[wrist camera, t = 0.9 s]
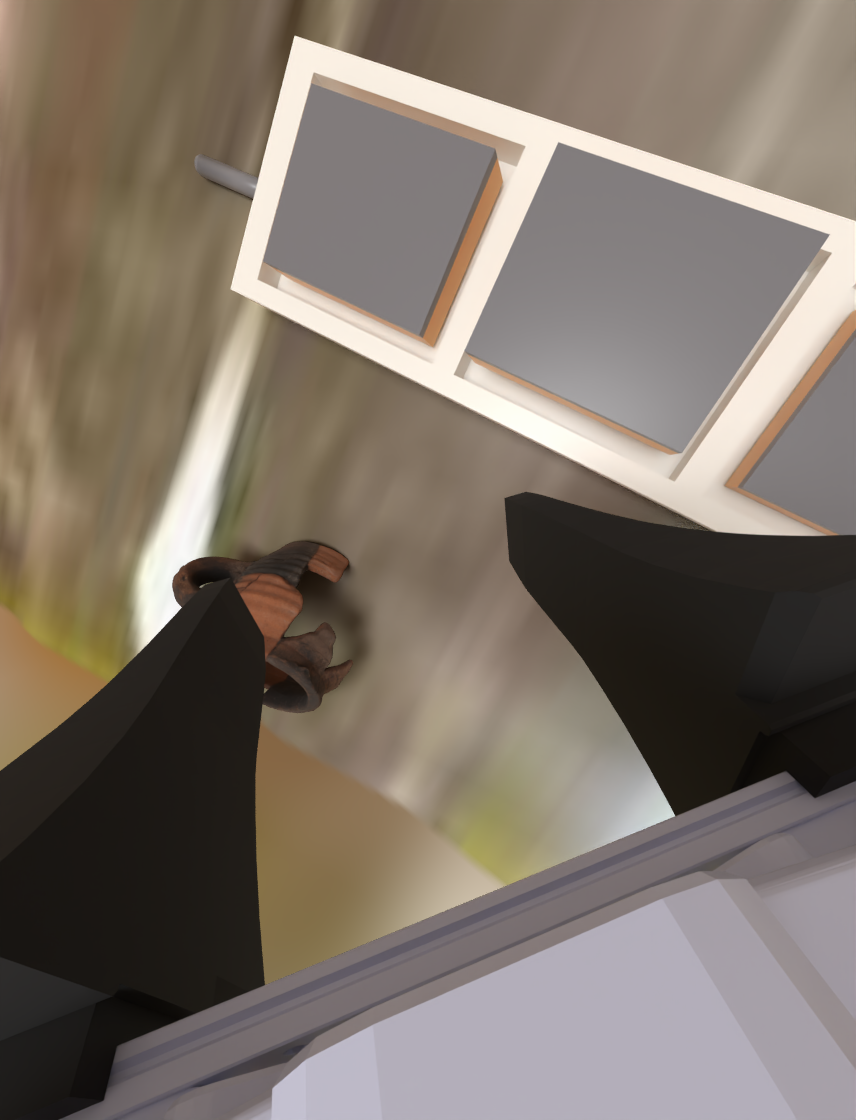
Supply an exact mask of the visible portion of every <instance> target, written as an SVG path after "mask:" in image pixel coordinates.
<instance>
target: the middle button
mask: <svg viewBox="0 0 856 1120" xmlns="http://www.w3.org/2000/svg"><path fill="white" fill-rule="evenodd" d="M829 235H830V234H827V233H824V232H821V231H818V230H815V229H812V228H809V227H806V226H803V225H800V224H797V223H794V222H791V221H788V220H786V219H783V218H780V217H777V216H774V215H771V214H768V213H765V212H762V211H759V210H756V209H753V208H750V207H747V206H744V205H741V204H739V203H736V202H733V201H730V200H727V199H724V198H721V197H718V196H715V195H712V194H709V193H706V192H703V191H700V190H697V189H695V188H692V187H689V186H686V185H683V184H680V183H677V182H674V181H671V180H668V179H665V178H662V177H659V176H656V175H653V174H650V173H648V172H645V171H642V170H639V169H636V168H633V167H630V166H627V165H624V164H621V163H618V162H615V161H612V160H609V159H606V158H603V157H601V156H598V155H595V154H592V153H589V152H586V151H583V150H580V149H577V148H574V147H571V146H568V145H565V144H562V143H559V142H558V144H557V146H556V148H555V151H554V153H553V155H552V157H551V160H550V162H549V164H548V166H547V168H546V171H545V173H544V175H543V177H542V179H541V182H540V184H539V186H538V188H537V191H536V193H535V195H534V197H533V199H532V202H531V204H530V206H529V208H528V211H527V213H526V215H525V217H524V219H523V222H522V224H521V226H520V228H519V231H518V233H517V235H516V237H515V239H514V242H513V244H512V246H511V248H510V250H509V253H508V255H507V257H506V259H505V262H504V264H503V266H502V268H501V270H500V273H499V275H498V277H497V279H496V282H495V284H494V286H493V288H492V290H491V293H490V295H489V297H488V299H487V302H486V304H485V306H484V308H483V310H482V313H481V315H480V317H479V319H478V322H477V324H476V326H475V328H474V330H473V333H472V335H471V337H470V339H469V341H468V344H467V346H466V348H465V350H464V351H465V352H466V353H467V354H468V355H469V357H470V358H471V359H472V360H473V361H474V362H475V363H476V364H478V365H480V366H483V367H485V368H487V369H489V370H491V371H493V372H495V373H497V374H499V375H502V376H504V377H506V378H508V379H510V380H512V381H514V382H516V383H518V384H521V385H523V386H525V387H527V388H529V389H531V390H533V391H535V392H537V393H540V394H542V395H544V396H546V397H548V398H550V399H552V400H554V401H557V402H559V403H561V404H563V405H565V406H567V407H569V408H571V409H573V410H576V411H578V412H580V413H582V414H584V415H586V416H588V417H590V418H592V419H595V420H597V421H599V422H601V423H603V424H605V425H607V426H609V427H611V428H614V429H616V430H618V431H620V432H622V433H624V434H626V435H628V436H631V437H633V438H635V439H637V440H639V441H641V442H643V443H645V444H647V445H650V446H652V447H654V448H656V449H658V450H660V451H662V452H664V453H666V454H669V455H673V454H679V453H682V452H683V451H684V449H685V448H686V446H687V445H688V443H689V442H690V441H691V439H692V438H693V436H694V435H695V433H696V432H697V430H698V429H699V427H700V426H701V424H702V423H703V421H704V420H705V418H706V417H707V415H708V414H709V412H710V411H711V410H712V408H713V407H714V405H715V404H716V402H717V401H718V399H719V398H720V396H721V395H722V393H723V392H724V390H725V389H726V387H727V386H728V384H729V383H730V382H731V380H732V379H733V377H734V376H735V374H736V373H737V371H738V370H739V368H740V367H741V365H742V364H743V362H744V361H745V359H746V358H747V356H748V355H749V353H750V352H751V351H752V349H753V348H754V346H755V345H756V343H757V342H758V340H759V339H760V337H761V336H762V334H763V333H764V331H765V330H766V328H767V327H768V325H769V324H770V322H771V321H772V320H773V318H774V317H775V315H776V314H777V312H778V311H779V309H780V308H781V306H782V305H783V303H784V302H785V300H786V299H787V297H788V296H789V294H790V293H791V292H792V290H793V289H794V287H795V286H796V284H797V283H798V281H799V280H800V278H801V277H802V275H803V274H804V272H805V271H806V269H807V268H808V266H809V265H810V263H811V262H812V261H813V259H814V258H815V256H816V255H817V253H818V252H819V250H820V249H821V247H822V246H823V244H824V243H825V241H826V240H827V238H828V237H829Z"/></svg>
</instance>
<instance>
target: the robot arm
mask: <svg viewBox="0 0 856 1120" xmlns="http://www.w3.org/2000/svg"><path fill="white" fill-rule="evenodd" d="M505 510H506V523H507V536H508V549H509V561H510V563H511V564H512V566H513V568H514V570H515V571H516V573H517V575H518V577H519V578H520V580H521V581H522V583H523V585H524V586H525V588H526V589H527V591H528V592H529V593H530V594H531V596H532V597H533V598H534V599H535V601H536V602H537V603H538V604H539V605H540V607H541V608H542V609H543V610H544V612H545V613H546V614H547V615H548V616H549V618H550V619H551V620H552V621H553V623H554V624H555V625H556V626H557V627H558V629H559V630H560V631H561V632H562V633H563V635H564V636H565V637H566V638H567V639H568V641H569V642H570V643H571V644H572V646H573V647H574V648H575V649H576V651H577V652H578V653H579V655H580V656H581V657H582V659H583V660H584V662H585V663H586V665H587V666H588V668H589V669H590V671H591V672H592V674H593V675H594V677H595V679H596V680H597V682H598V683H599V685H600V686H601V688H602V689H603V691H604V692H605V694H606V696H607V697H608V699H609V701H610V702H611V704H612V705H613V707H614V709H615V710H616V712H617V713H618V715H619V717H620V718H621V720H622V722H623V723H624V725H625V726H626V728H627V730H628V732H629V733H630V735H631V737H632V739H633V740H634V742H635V744H636V745H637V747H638V749H639V751H640V752H641V754H642V756H643V757H644V759H645V761H646V763H647V764H648V766H649V768H650V770H651V772H652V773H653V775H654V777H655V779H656V781H657V783H658V784H659V786H660V788H661V790H662V792H663V794H664V795H665V797H666V799H667V801H668V803H669V805H670V806H671V808H672V810H673V812H674V814H675V817H673V818H670V819H668V820H665V821H663V822H660V823H658V824H656V825H653V826H651V827H648V828H646V829H643V830H641V831H639V832H636V833H634V834H631V835H629V836H626V837H624V838H622V839H619V840H617V841H614V842H612V843H609V844H607V845H604V846H602V847H600V848H597V849H595V850H592V851H590V852H587V853H585V854H583V855H580V856H578V857H575V858H573V859H570V860H568V861H566V862H563V863H561V864H558V865H556V866H553V867H551V868H549V869H546V870H544V871H541V872H539V873H536V874H534V875H532V876H529V877H527V878H524V879H522V880H519V881H517V882H515V883H512V884H510V885H507V886H505V887H502V888H500V889H497V890H495V891H493V892H490V893H488V894H485V895H483V896H480V897H478V898H476V899H473V900H471V901H469V902H466V903H463V904H461V905H459V906H456V907H454V908H451V909H449V910H446V911H445V912H442V913H439V914H437V915H434V916H432V917H429V918H427V919H425V920H422V921H420V922H417V923H415V924H413V925H410V926H408V927H405V928H403V929H401V930H398V931H395V932H393V933H391V934H388V935H386V936H383V937H381V938H378V939H376V940H373V941H371V942H369V943H366V944H364V945H361V946H359V947H357V948H354V949H352V950H350V951H347V952H344V953H342V954H339V955H337V956H335V957H332V958H330V959H327V960H325V961H323V962H320V963H318V964H315V965H313V966H311V967H308V968H305V969H303V970H301V971H298V972H296V973H293V974H291V975H288V976H286V977H284V978H281V979H279V980H276V981H274V982H271V983H269V984H267V985H265V981H264V970H263V957H262V946H261V932H260V920H259V904H258V903H259V900H258V881H257V862H256V824H255V823H256V822H255V772H256V757H257V747H258V738H259V729H260V721H261V712H262V703H263V694H264V684H265V674H266V663H265V642H264V636H263V634H262V632H261V630H260V629H259V627H258V625H257V623H256V622H255V620H254V618H253V616H252V614H251V613H250V611H249V609H248V607H247V606H246V604H245V602H244V600H243V599H242V597H241V595H240V593H239V591H238V590H237V588H236V586H235V584H234V583H233V581H232V579H231V578H227V579H224V580H220V581H217V582H213V583H210V584H207V585H205V586H203V587H202V588H201V589H200V590H199V591H198V592H197V593H196V594H195V595H194V596H193V597H192V598H191V599H190V600H189V601H188V602H187V603H186V604H185V605H184V606H183V607H182V608H181V609H180V610H179V611H178V613H177V614H176V615H175V616H174V617H173V618H172V619H171V620H170V621H169V622H168V623H167V624H166V625H165V627H164V628H163V629H162V630H161V631H160V632H159V633H158V634H157V635H156V636H155V637H154V638H153V639H152V640H151V641H150V643H149V644H148V645H147V646H146V647H145V648H144V649H143V650H142V651H141V652H140V653H139V654H138V655H137V656H136V657H134V658H133V659H132V660H131V661H130V662H129V663H128V664H127V665H126V666H125V667H124V668H123V669H122V670H121V671H120V672H119V673H118V674H117V675H116V676H115V677H114V678H113V679H112V680H111V681H110V682H109V683H108V684H107V685H106V686H105V687H104V688H103V689H101V690H100V691H99V692H98V693H97V694H96V695H95V696H94V697H93V698H92V699H90V700H89V701H88V702H87V703H86V704H84V705H83V706H82V707H81V708H80V709H79V710H77V711H76V712H75V713H74V714H73V715H71V717H69V718H68V719H67V720H66V721H64V722H63V723H62V724H61V725H59V726H58V727H57V728H56V729H54V730H53V731H52V732H51V733H49V734H48V735H47V736H45V737H44V738H43V739H41V740H40V741H39V742H37V743H36V744H35V745H34V746H32V747H31V748H30V749H28V750H27V751H26V752H24V753H23V754H22V755H20V756H19V757H18V758H17V759H15V760H14V761H13V762H11V763H10V764H9V765H7V766H6V767H5V768H4V769H2V770H1V771H0V1120H856V535H827V536H790V535H757V534H738V533H726V532H714V531H703V530H694V529H686V528H679V527H672V526H666V525H660V524H653V523H648V522H642V521H637V520H633V519H628V518H624V517H620V516H615V515H611V514H607V513H603V512H599V511H596V510H592V509H588V508H585V507H581V506H578V505H574V504H571V503H567V502H564V501H560V500H557V499H554V498H550V497H546V496H543V495H539V494H534V493H529V492H524V493H521V494H517V495H514V496H510V497H507V498H505Z"/></svg>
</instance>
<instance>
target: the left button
mask: <svg viewBox="0 0 856 1120" xmlns="http://www.w3.org/2000/svg"><path fill="white" fill-rule="evenodd" d="M502 183H503V179H502V175H501V171H500V166H499V162H498V158H497V153H496V149H495V148H492V147H489V146H487V145H484V144H481V143H478V142H475V141H472V140H470V139H467V138H464V137H461V136H458V135H456V134H453V133H450V132H447V131H444V130H442V129H439V128H436V127H433V126H430V125H427V124H425V123H422V122H419V121H416V120H413V119H411V118H408V117H405V116H402V115H399V114H396V113H394V112H391V111H388V110H385V109H382V108H380V107H377V106H374V105H371V104H368V103H366V102H363V101H360V100H357V99H354V98H351V97H349V96H346V95H343V94H340V93H337V92H335V91H332V90H329V89H326V88H323V87H320V86H318V85H315V84H312V83H311V86H310V90H309V94H308V97H307V101H306V105H305V108H304V112H303V116H302V119H301V123H300V127H299V130H298V134H297V138H296V141H295V145H294V149H293V152H292V156H291V160H290V164H289V167H288V171H287V175H286V178H285V182H284V186H283V189H282V193H281V197H280V200H279V204H278V208H277V211H276V215H275V219H274V222H273V226H272V230H271V233H270V237H269V241H268V244H267V248H266V252H265V255H264V259H263V262H265V263H266V264H268V265H269V266H271V267H272V268H274V269H275V270H277V271H278V272H279V273H281V274H282V275H284V276H285V277H287V278H288V279H290V280H292V281H294V282H296V283H298V284H301V285H303V286H305V287H307V288H309V289H311V290H313V291H315V292H317V293H319V294H322V295H324V296H326V297H328V298H330V299H332V300H334V301H336V302H338V303H341V304H343V305H345V306H347V307H349V308H351V309H353V310H355V311H357V312H359V313H362V314H364V315H366V316H368V317H370V318H372V319H374V320H376V321H378V322H380V323H383V324H385V325H387V326H389V327H391V328H393V329H395V330H397V331H399V332H402V333H404V334H406V335H408V336H410V337H412V338H414V339H416V340H418V341H420V342H423V343H425V344H427V345H429V346H431V347H433V346H434V344H435V341H436V339H437V336H438V334H439V332H440V329H441V327H442V325H443V322H444V320H445V318H446V315H447V313H448V311H449V308H450V306H451V303H452V301H453V299H454V296H455V294H456V292H457V289H458V287H459V285H460V282H461V280H462V278H463V275H464V273H465V271H466V268H467V266H468V263H469V261H470V259H471V256H472V254H473V252H474V249H475V247H476V245H477V242H478V240H479V238H480V235H481V233H482V230H483V228H484V226H485V223H486V221H487V219H488V216H489V214H490V212H491V209H492V207H493V205H494V202H495V200H496V197H497V195H498V193H499V190H500V188H501V186H502Z"/></svg>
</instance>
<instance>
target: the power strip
mask: <svg viewBox="0 0 856 1120" xmlns="http://www.w3.org/2000/svg"><path fill="white" fill-rule="evenodd" d="M311 83H312V84H315V85H318V86H320V87H323V88H326V89H329V90H332V91H335V92H337V93H340V94H343V95H346V96H349V97H351V98H354V99H357V100H360V101H363V102H366V103H368V104H371V105H374V106H377V107H380V108H382V109H385V110H388V111H391V112H394V113H396V114H399V115H402V116H405V117H408V118H411V119H413V120H416V121H419V122H422V123H425V124H427V125H430V126H433V127H436V128H439V129H442V130H444V131H447V132H450V133H453V134H456V135H458V136H461V137H464V138H467V139H470V140H472V141H475V142H478V143H481V144H484V145H487V146H489V147H492V148H495V149H496V153H497V158H498V162H499V166H500V171H501V175H502V179H503V183H502V186H501V188H500V190H499V193H498V195H497V197H496V200H495V202H494V205H493V207H492V209H491V212H490V214H489V216H488V219H487V221H486V223H485V226H484V228H483V230H482V233H481V235H480V238H479V240H478V242H477V245H476V247H475V249H474V252H473V254H472V256H471V259H470V261H469V263H468V266H467V268H466V271H465V273H464V275H463V278H462V280H461V282H460V285H459V287H458V289H457V292H456V294H455V296H454V299H453V301H452V303H451V306H450V308H449V311H448V313H447V315H446V318H445V320H444V322H443V325H442V327H441V329H440V332H439V334H438V336H437V339H436V341H435V344H434V346H433V347H431V346H429V345H427V344H425V343H423V342H420V341H418V340H416V339H414V338H412V337H410V336H408V335H406V334H404V333H402V332H399V331H397V330H395V329H393V328H391V327H389V326H387V325H385V324H383V323H380V322H378V321H376V320H374V319H372V318H370V317H368V316H366V315H364V314H362V313H359V312H357V311H355V310H353V309H351V308H349V307H347V306H345V305H343V304H341V303H338V302H336V301H334V300H332V299H330V298H328V297H326V296H324V295H322V294H319V293H317V292H315V291H313V290H311V289H309V288H307V287H305V286H303V285H301V284H298V283H296V282H294V281H292V280H290V279H288V278H287V277H285V276H284V275H282V274H281V273H279V272H278V271H277V270H275V269H274V268H272V267H271V266H269V265H268V264H266V263H265V262H263V259H264V255H265V252H266V248H267V244H268V241H269V237H270V233H271V230H272V226H273V222H274V219H275V215H276V211H277V208H278V204H279V200H280V197H281V193H282V189H283V186H284V182H285V178H286V175H287V171H288V167H289V164H290V160H291V156H292V152H293V149H294V145H295V141H296V138H297V134H298V130H299V127H300V123H301V119H302V116H303V112H304V108H305V105H306V101H307V97H308V94H309V90H310V86H311ZM558 142H559V143H562V144H565V145H568V146H571V147H574V148H577V149H580V150H583V151H586V152H589V153H592V154H595V155H598V156H601V157H603V158H606V159H609V160H612V161H615V162H618V163H621V164H624V165H627V166H630V167H633V168H636V169H639V170H642V171H645V172H648V173H650V174H653V175H656V176H659V177H662V178H665V179H668V180H671V181H674V182H677V183H680V184H683V185H686V186H689V187H692V188H695V189H697V190H700V191H703V192H706V193H709V194H712V195H715V196H718V197H721V198H724V199H727V200H730V201H733V202H736V203H739V204H741V205H744V206H747V207H750V208H753V209H756V210H759V211H762V212H765V213H768V214H771V215H774V216H777V217H780V218H783V219H786V220H788V221H791V222H794V223H797V224H800V225H803V226H806V227H809V228H812V229H815V230H818V231H821V232H824V233H827V234H830V235H829V237H828V238H827V240H826V241H825V243H824V244H823V246H822V247H821V249H820V250H819V252H818V253H817V255H816V256H815V258H814V259H813V261H812V262H811V263H810V265H809V266H808V268H807V269H806V271H805V272H804V274H803V275H802V277H801V278H800V280H799V281H798V283H797V284H796V286H795V287H794V289H793V290H792V292H791V293H790V294H789V296H788V297H787V299H786V300H785V302H784V303H783V305H782V306H781V308H780V309H779V311H778V312H777V314H776V315H775V317H774V318H773V320H772V321H771V322H770V324H769V325H768V327H767V328H766V330H765V331H764V333H763V334H762V336H761V337H760V339H759V340H758V342H757V343H756V345H755V346H754V348H753V349H752V351H751V352H750V353H749V355H748V356H747V358H746V359H745V361H744V362H743V364H742V365H741V367H740V368H739V370H738V371H737V373H736V374H735V376H734V377H733V379H732V380H731V382H730V383H729V384H728V386H727V387H726V389H725V390H724V392H723V393H722V395H721V396H720V398H719V399H718V401H717V402H716V404H715V405H714V407H713V408H712V410H711V411H710V412H709V414H708V415H707V417H706V418H705V420H704V421H703V423H702V424H701V426H700V427H699V429H698V430H697V432H696V433H695V435H694V436H693V438H692V439H691V441H690V442H689V443H688V445H687V446H686V448H685V449H684V451H683V452H682V453H679V454H673V455H669V454H666V453H664V452H662V451H660V450H658V449H656V448H654V447H652V446H650V445H647V444H645V443H643V442H641V441H639V440H637V439H635V438H633V437H631V436H628V435H626V434H624V433H622V432H620V431H618V430H616V429H614V428H611V427H609V426H607V425H605V424H603V423H601V422H599V421H597V420H595V419H592V418H590V417H588V416H586V415H584V414H582V413H580V412H578V411H576V410H573V409H571V408H569V407H567V406H565V405H563V404H561V403H559V402H557V401H554V400H552V399H550V398H548V397H546V396H544V395H542V394H540V393H537V392H535V391H533V390H531V389H529V388H527V387H525V386H523V385H521V384H518V383H516V382H514V381H512V380H510V379H508V378H506V377H504V376H502V375H499V374H497V373H495V372H493V371H491V370H489V369H487V368H485V367H483V366H480V365H478V364H476V363H475V362H474V361H473V360H472V359H471V358H470V357H469V355H468V354H467V353H466V352H465V351H464V350H465V348H466V346H467V344H468V341H469V339H470V337H471V335H472V333H473V330H474V328H475V326H476V324H477V322H478V319H479V317H480V315H481V313H482V310H483V308H484V306H485V304H486V302H487V299H488V297H489V295H490V293H491V290H492V288H493V286H494V284H495V282H496V279H497V277H498V275H499V273H500V270H501V268H502V266H503V264H504V262H505V259H506V257H507V255H508V253H509V250H510V248H511V246H512V244H513V242H514V239H515V237H516V235H517V233H518V231H519V228H520V226H521V224H522V222H523V219H524V217H525V215H526V213H527V211H528V208H529V206H530V204H531V202H532V199H533V197H534V195H535V193H536V191H537V188H538V186H539V184H540V182H541V179H542V177H543V175H544V173H545V171H546V168H547V166H548V164H549V162H550V160H551V157H552V155H553V153H554V151H555V148H556V146H557V144H558ZM194 163H195V168H196V170H197V172H198V173H199V174H200V175H201V176H202V177H204V178H207V179H209V180H211V181H213V182H216V183H218V184H220V185H223V186H225V187H227V188H229V189H232V190H234V191H236V192H239V193H241V194H243V195H245V196H248V197H250V198H252V199H253V202H252V206H251V210H250V214H249V218H248V222H247V226H246V230H245V234H244V238H243V242H242V246H241V250H240V254H239V258H238V262H237V266H236V270H235V274H234V277H233V281H232V285H231V289H232V290H233V291H235V292H237V293H239V294H241V295H243V296H245V297H246V298H248V299H250V300H252V301H254V302H256V303H258V304H259V305H261V306H263V307H265V308H267V309H269V310H271V311H273V312H275V313H277V314H279V315H281V316H283V317H285V318H287V319H289V320H291V321H293V322H295V323H297V324H299V325H301V326H303V327H305V328H307V329H309V330H311V331H313V332H315V333H317V334H319V335H321V336H323V337H325V338H327V339H329V340H331V341H333V342H335V343H337V344H339V345H341V346H343V347H345V348H347V349H349V350H351V351H353V352H355V353H357V354H359V355H361V356H363V357H365V358H367V359H369V360H371V361H373V362H375V363H377V364H379V365H381V366H383V367H385V368H387V369H389V370H391V371H393V372H395V373H397V374H399V375H401V376H403V377H405V378H407V379H409V380H411V381H413V382H415V383H417V384H419V385H421V386H423V387H425V388H427V389H429V390H431V391H433V392H435V393H437V394H439V395H441V396H443V397H445V398H447V399H449V400H451V401H453V402H455V403H457V404H459V405H461V406H463V407H465V408H467V409H469V410H471V411H473V412H475V413H477V414H479V415H481V416H483V417H485V418H487V419H489V420H491V421H493V422H495V423H497V424H499V425H501V426H503V427H505V428H507V429H509V430H511V431H513V432H515V433H517V434H519V435H521V436H523V437H525V438H527V439H529V440H531V441H533V442H535V443H537V444H539V445H541V446H543V447H545V448H547V449H549V450H551V451H553V452H555V453H557V454H559V455H561V456H563V457H565V458H567V459H569V460H571V461H573V462H575V463H577V464H579V465H581V466H583V467H585V468H587V469H589V470H591V471H593V472H595V473H597V474H599V475H601V476H603V477H605V478H607V479H609V480H611V481H613V482H615V483H617V484H619V485H621V486H623V487H625V488H627V489H629V490H631V491H633V492H635V493H637V494H639V495H641V496H643V497H645V498H647V499H649V500H651V501H653V502H655V503H657V504H659V505H661V506H663V507H665V508H667V509H669V510H671V511H673V512H675V513H677V514H679V515H681V516H683V517H685V518H687V519H689V520H691V521H693V522H695V523H697V524H699V525H701V526H703V527H705V528H707V529H709V530H711V531H714V532H726V533H738V534H757V535H790V536H827V535H826V534H824V533H822V532H820V531H818V530H816V529H814V528H812V527H810V526H808V525H805V524H803V523H801V522H799V521H797V520H795V519H793V518H791V517H789V516H786V515H784V514H782V513H780V512H778V511H776V510H774V509H772V508H770V507H768V506H765V505H763V504H761V503H759V502H757V501H755V500H753V499H751V498H749V497H747V496H744V495H742V494H740V493H738V492H736V491H734V490H732V489H730V488H728V487H725V484H726V483H727V482H728V480H729V479H730V478H731V476H732V475H733V474H734V472H735V471H736V469H737V468H738V467H739V465H740V464H741V463H742V461H743V460H744V459H745V457H746V456H747V454H748V453H749V452H750V450H751V449H752V448H753V446H754V445H755V444H756V442H757V441H758V439H759V438H760V437H761V435H762V434H763V433H764V431H765V430H766V429H767V427H768V426H769V425H770V423H771V422H772V420H773V419H774V418H775V416H776V415H777V414H778V412H779V411H780V410H781V408H782V407H783V405H784V404H785V403H786V401H787V400H788V399H789V397H790V396H791V395H792V393H793V392H794V391H795V389H796V388H797V386H798V385H799V384H800V382H801V381H802V380H803V378H804V377H805V376H806V374H807V373H808V371H809V370H810V369H811V367H812V366H813V365H814V363H815V362H816V361H817V359H818V358H819V357H820V355H821V354H822V352H823V351H824V350H825V348H826V347H827V346H828V344H829V343H830V342H831V340H832V339H833V337H834V336H835V335H836V333H837V332H838V331H839V329H840V328H841V327H842V325H843V324H844V322H845V321H846V320H847V318H848V317H849V316H850V314H851V313H852V312H853V311H854V310H856V221H853V220H850V219H847V218H844V217H841V216H838V215H835V214H832V213H829V212H826V211H823V210H820V209H817V208H814V207H811V206H808V205H805V204H802V203H799V202H796V201H793V200H790V199H787V198H784V197H781V196H777V195H774V194H771V193H768V192H765V191H762V190H759V189H756V188H753V187H750V186H747V185H744V184H741V183H738V182H735V181H732V180H729V179H726V178H723V177H720V176H717V175H714V174H711V173H708V172H705V171H702V170H699V169H696V168H693V167H690V166H687V165H684V164H681V163H678V162H675V161H672V160H669V159H666V158H663V157H660V156H657V155H654V154H651V153H648V152H645V151H641V150H638V149H635V148H632V147H629V146H626V145H623V144H620V143H617V142H614V141H611V140H608V139H605V138H602V137H599V136H596V135H593V134H590V133H587V132H584V131H581V130H578V129H575V128H572V127H569V126H566V125H563V124H560V123H557V122H554V121H551V120H548V119H545V118H542V117H539V116H536V115H533V114H530V113H527V112H524V111H521V110H518V109H515V108H512V107H508V106H505V105H502V104H499V103H496V102H493V101H490V100H487V99H484V98H481V97H478V96H475V95H472V94H469V93H466V92H463V91H460V90H457V89H454V88H451V87H448V86H445V85H442V84H439V83H436V82H433V81H430V80H427V79H424V78H421V77H418V76H415V75H412V74H409V73H406V72H403V71H400V70H397V69H394V68H391V67H388V66H385V65H382V64H379V63H376V62H372V61H369V60H366V59H363V58H360V57H357V56H354V55H351V54H348V53H345V52H342V51H339V50H336V49H333V48H330V47H327V46H324V45H321V44H318V43H315V42H312V41H309V40H306V39H303V38H300V37H297V36H295V37H294V41H293V45H292V48H291V52H290V56H289V60H288V64H287V68H286V72H285V76H284V80H283V84H282V88H281V92H280V96H279V100H278V104H277V108H276V112H275V116H274V120H273V124H272V127H271V131H270V135H269V139H268V143H267V147H266V151H265V155H264V159H263V163H262V167H261V171H260V175H259V178H257V177H255V176H253V175H250V174H248V173H246V172H243V171H241V170H238V169H236V168H234V167H231V166H229V165H227V164H224V163H222V162H220V161H217V160H215V159H212V158H210V157H208V156H205V155H202V154H200V155H197V156H196V158H195V161H194Z"/></svg>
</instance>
